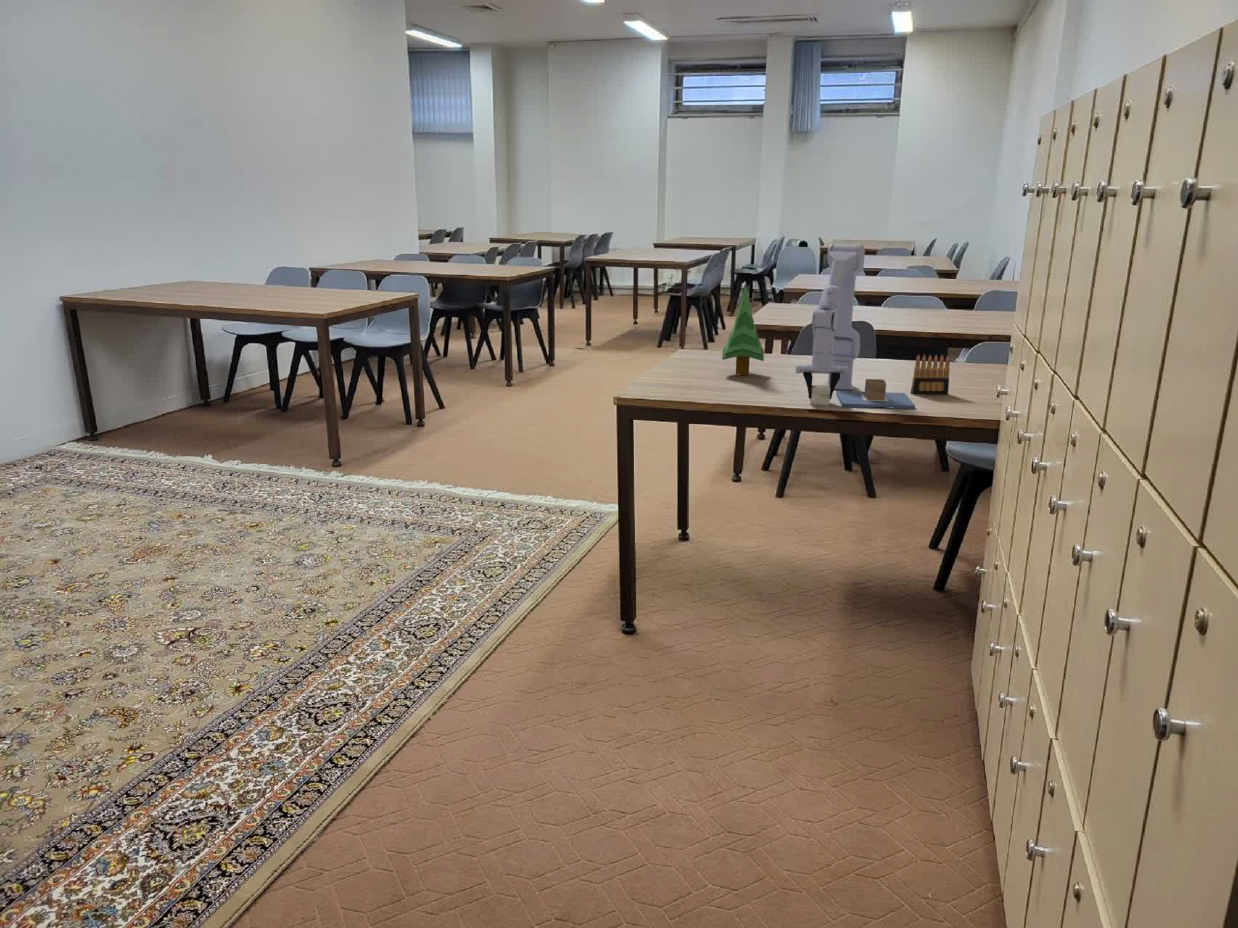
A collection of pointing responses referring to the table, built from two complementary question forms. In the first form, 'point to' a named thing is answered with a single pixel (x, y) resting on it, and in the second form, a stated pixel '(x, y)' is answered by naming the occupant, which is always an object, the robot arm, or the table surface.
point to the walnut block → (875, 389)
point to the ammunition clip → (931, 377)
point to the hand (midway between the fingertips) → (819, 398)
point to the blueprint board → (860, 400)
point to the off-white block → (820, 394)
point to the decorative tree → (743, 338)
